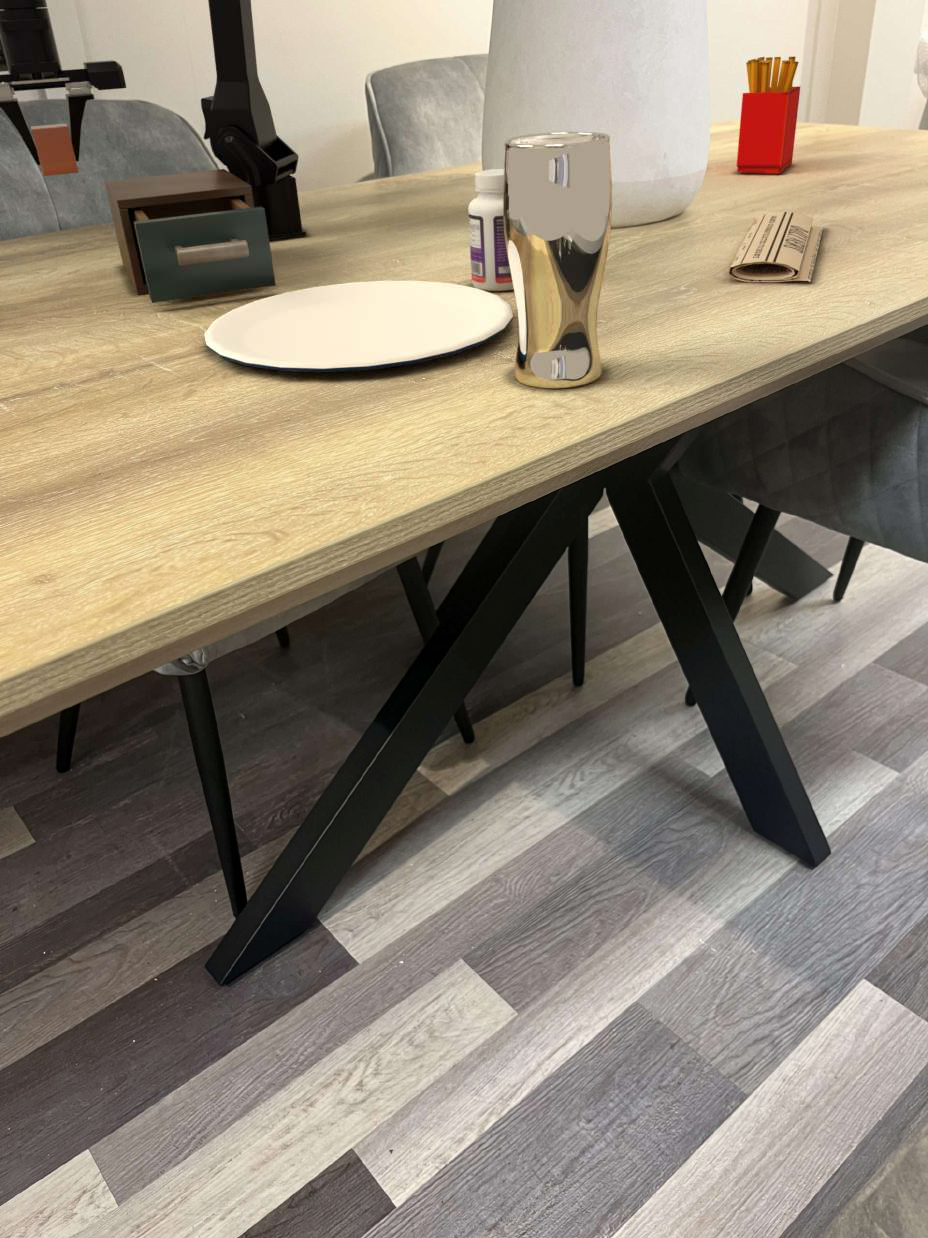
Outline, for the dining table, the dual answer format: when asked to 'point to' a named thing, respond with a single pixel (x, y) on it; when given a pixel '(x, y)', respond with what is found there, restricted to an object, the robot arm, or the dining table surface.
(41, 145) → the block
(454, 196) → the dining table surface
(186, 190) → the cabinet
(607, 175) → the beer glass
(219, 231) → the drawer
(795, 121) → the french fries container
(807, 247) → the newspaper
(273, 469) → the dining table surface
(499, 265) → the pill bottle
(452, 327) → the plate
